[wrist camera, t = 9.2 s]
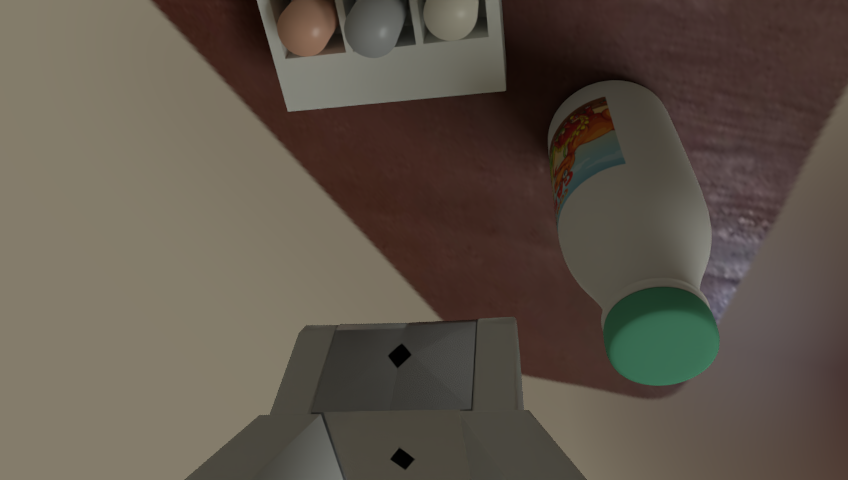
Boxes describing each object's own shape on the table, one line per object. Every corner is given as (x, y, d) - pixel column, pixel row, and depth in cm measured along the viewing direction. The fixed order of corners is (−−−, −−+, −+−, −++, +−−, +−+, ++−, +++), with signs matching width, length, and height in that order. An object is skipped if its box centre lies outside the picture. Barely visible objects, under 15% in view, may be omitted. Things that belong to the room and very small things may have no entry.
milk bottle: (646, 55, 41) (735, 253, 25) (684, 156, 45) (783, 386, 29) (528, 107, 44) (540, 316, 28) (572, 198, 47) (606, 430, 31)
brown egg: (292, -16, 40) (270, 8, 36) (338, -22, 39) (321, 1, 35) (304, 31, 41) (284, 58, 37) (349, 26, 41) (333, 53, 37)
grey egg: (354, -18, 38) (338, 7, 34) (404, -24, 37) (393, 0, 34) (364, 31, 39) (350, 60, 36) (412, 26, 39) (402, 55, 35)
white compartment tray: (263, -85, 39) (237, -67, 35) (492, -118, 36) (490, -103, 33) (305, 81, 44) (287, 111, 41) (506, 61, 42) (506, 90, 39)
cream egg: (428, -34, 38) (419, -11, 35) (477, -40, 38) (474, -17, 34) (434, 16, 40) (427, 43, 36) (482, 11, 39) (480, 37, 36)
